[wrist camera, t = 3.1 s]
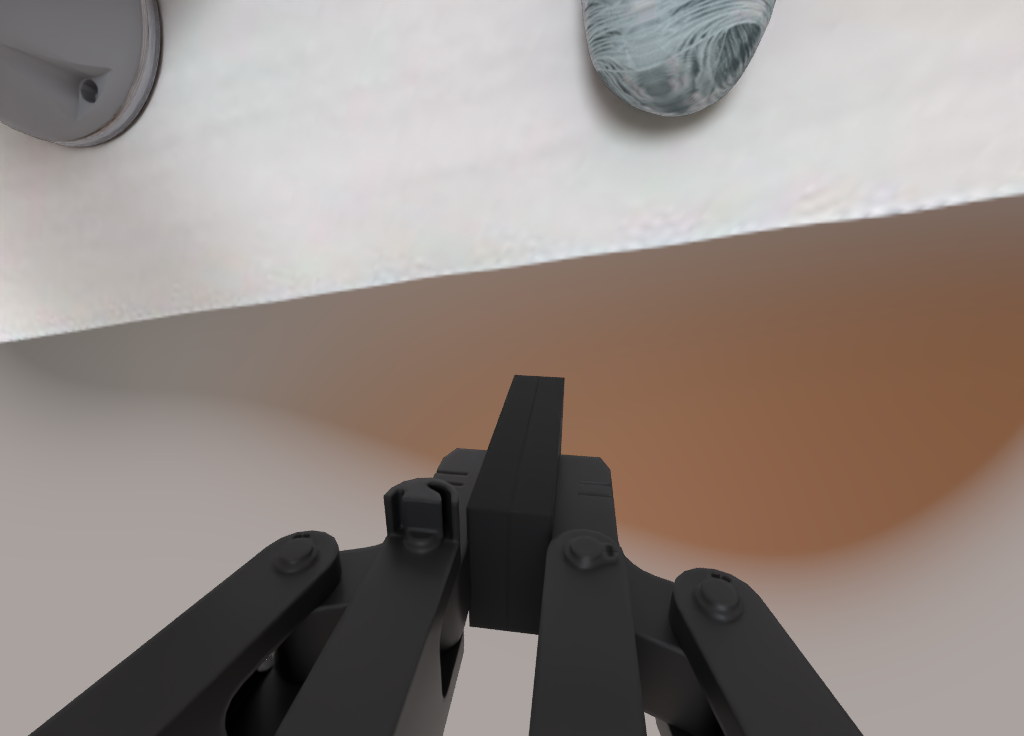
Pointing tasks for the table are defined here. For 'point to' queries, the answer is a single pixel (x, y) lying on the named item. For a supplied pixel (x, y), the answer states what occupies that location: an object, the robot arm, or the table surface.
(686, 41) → the grey marbled egg
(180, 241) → the table surface
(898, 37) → the table surface
